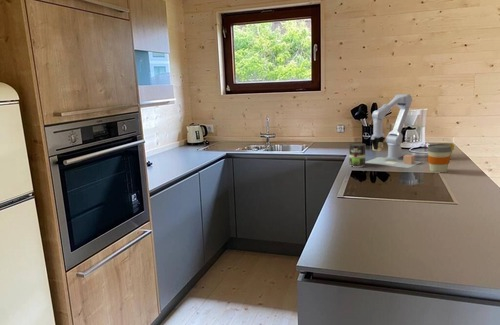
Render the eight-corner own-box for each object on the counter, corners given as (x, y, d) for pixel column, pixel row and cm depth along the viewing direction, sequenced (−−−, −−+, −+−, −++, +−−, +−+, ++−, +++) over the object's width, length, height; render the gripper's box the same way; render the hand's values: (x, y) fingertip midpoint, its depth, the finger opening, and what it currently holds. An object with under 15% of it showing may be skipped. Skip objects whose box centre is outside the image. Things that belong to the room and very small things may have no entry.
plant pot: (449, 156, 257) (450, 142, 255) (456, 160, 247) (456, 145, 245) (433, 157, 258) (434, 143, 256) (439, 160, 248) (440, 145, 246)
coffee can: (363, 167, 241) (363, 145, 238) (347, 166, 246) (347, 145, 243) (367, 164, 250) (367, 143, 247) (351, 163, 254) (351, 142, 251)
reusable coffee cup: (453, 173, 216) (454, 147, 212) (429, 173, 218) (430, 148, 215) (446, 168, 228) (448, 143, 224) (424, 168, 230) (425, 144, 227)
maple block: (376, 149, 259) (376, 142, 258) (382, 149, 256) (383, 142, 255) (372, 150, 256) (372, 143, 255) (379, 151, 252) (379, 143, 251)
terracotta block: (406, 162, 246) (406, 154, 245) (414, 163, 243) (414, 155, 242) (403, 163, 243) (403, 155, 242) (411, 164, 240) (411, 156, 239)
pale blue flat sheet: (378, 157, 266) (378, 157, 266) (421, 162, 245) (422, 161, 245) (363, 163, 253) (363, 162, 253) (408, 168, 232) (408, 167, 231)
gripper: (377, 127, 261) (377, 146, 263) (366, 129, 251) (366, 149, 254) (387, 127, 256) (387, 147, 258) (376, 130, 246) (376, 150, 249)
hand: (377, 148), depth 256 cm, fingers closed on maple block, 5 cm apart
